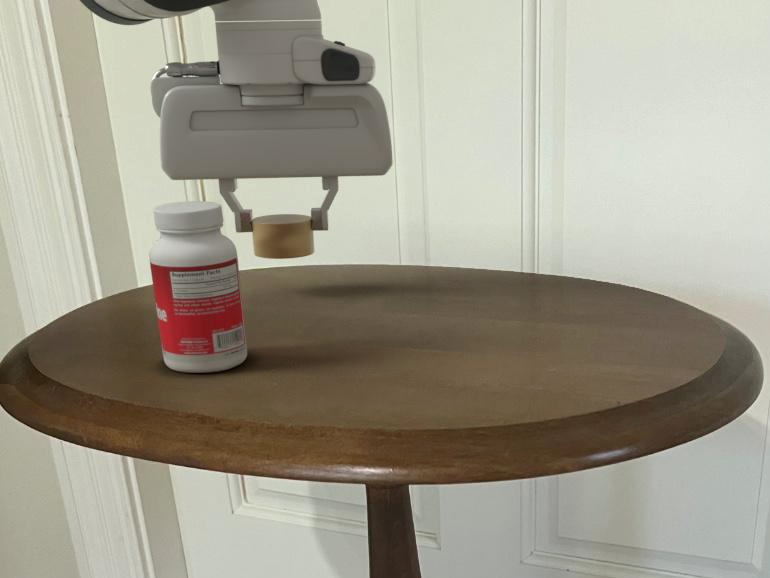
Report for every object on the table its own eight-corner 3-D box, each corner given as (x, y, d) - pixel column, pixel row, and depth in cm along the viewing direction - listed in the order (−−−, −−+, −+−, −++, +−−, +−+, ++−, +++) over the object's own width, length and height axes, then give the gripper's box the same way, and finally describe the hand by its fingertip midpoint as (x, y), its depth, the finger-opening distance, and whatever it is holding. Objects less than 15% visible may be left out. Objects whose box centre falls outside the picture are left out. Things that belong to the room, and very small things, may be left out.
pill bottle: (173, 352, 83) (153, 200, 78) (253, 350, 83) (238, 198, 78) (156, 376, 78) (132, 214, 72) (241, 374, 77) (224, 211, 72)
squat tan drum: (251, 259, 97) (248, 224, 95) (256, 248, 101) (254, 214, 100) (313, 258, 97) (311, 222, 95) (315, 246, 102) (313, 213, 100)
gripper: (140, 63, 89) (162, 239, 95) (390, 59, 89) (395, 233, 96) (153, 61, 94) (173, 227, 101) (389, 57, 95) (393, 222, 101)
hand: (283, 230), depth 98 cm, fingers closed on squat tan drum, 5 cm apart
